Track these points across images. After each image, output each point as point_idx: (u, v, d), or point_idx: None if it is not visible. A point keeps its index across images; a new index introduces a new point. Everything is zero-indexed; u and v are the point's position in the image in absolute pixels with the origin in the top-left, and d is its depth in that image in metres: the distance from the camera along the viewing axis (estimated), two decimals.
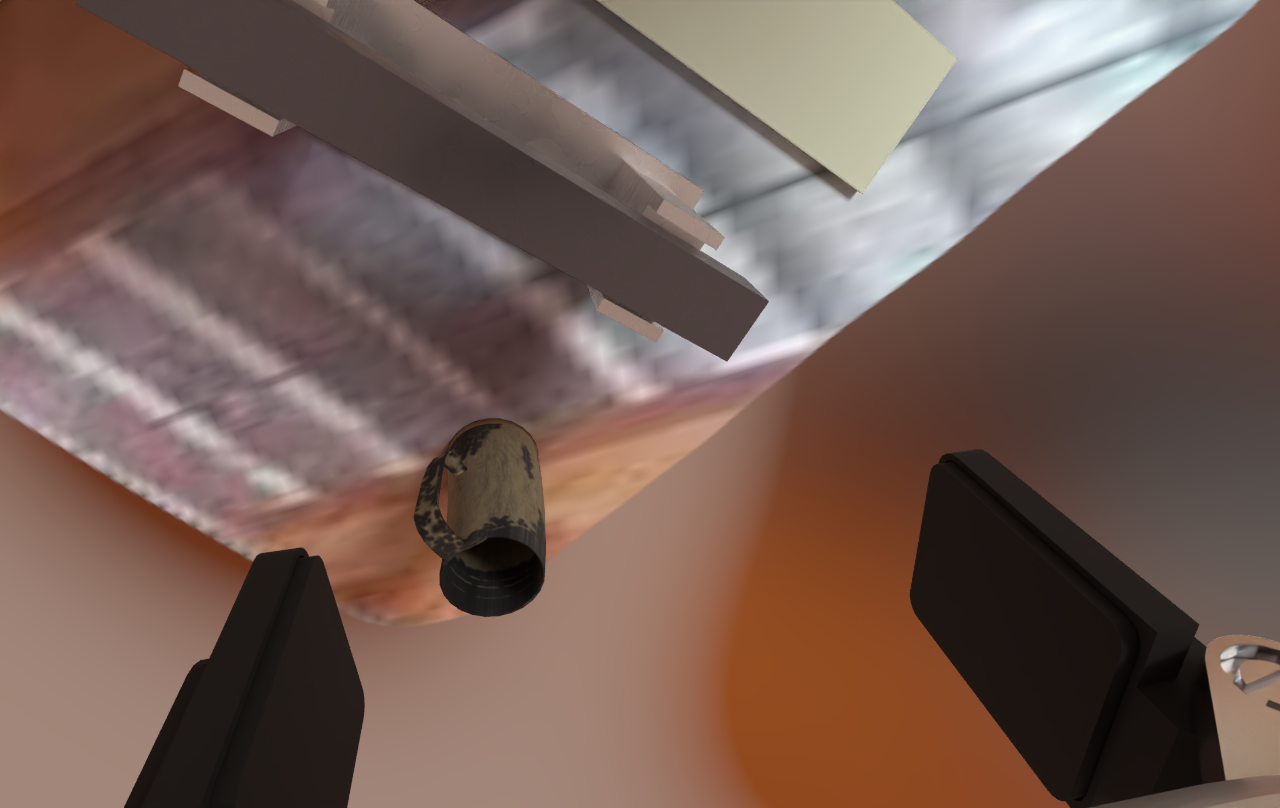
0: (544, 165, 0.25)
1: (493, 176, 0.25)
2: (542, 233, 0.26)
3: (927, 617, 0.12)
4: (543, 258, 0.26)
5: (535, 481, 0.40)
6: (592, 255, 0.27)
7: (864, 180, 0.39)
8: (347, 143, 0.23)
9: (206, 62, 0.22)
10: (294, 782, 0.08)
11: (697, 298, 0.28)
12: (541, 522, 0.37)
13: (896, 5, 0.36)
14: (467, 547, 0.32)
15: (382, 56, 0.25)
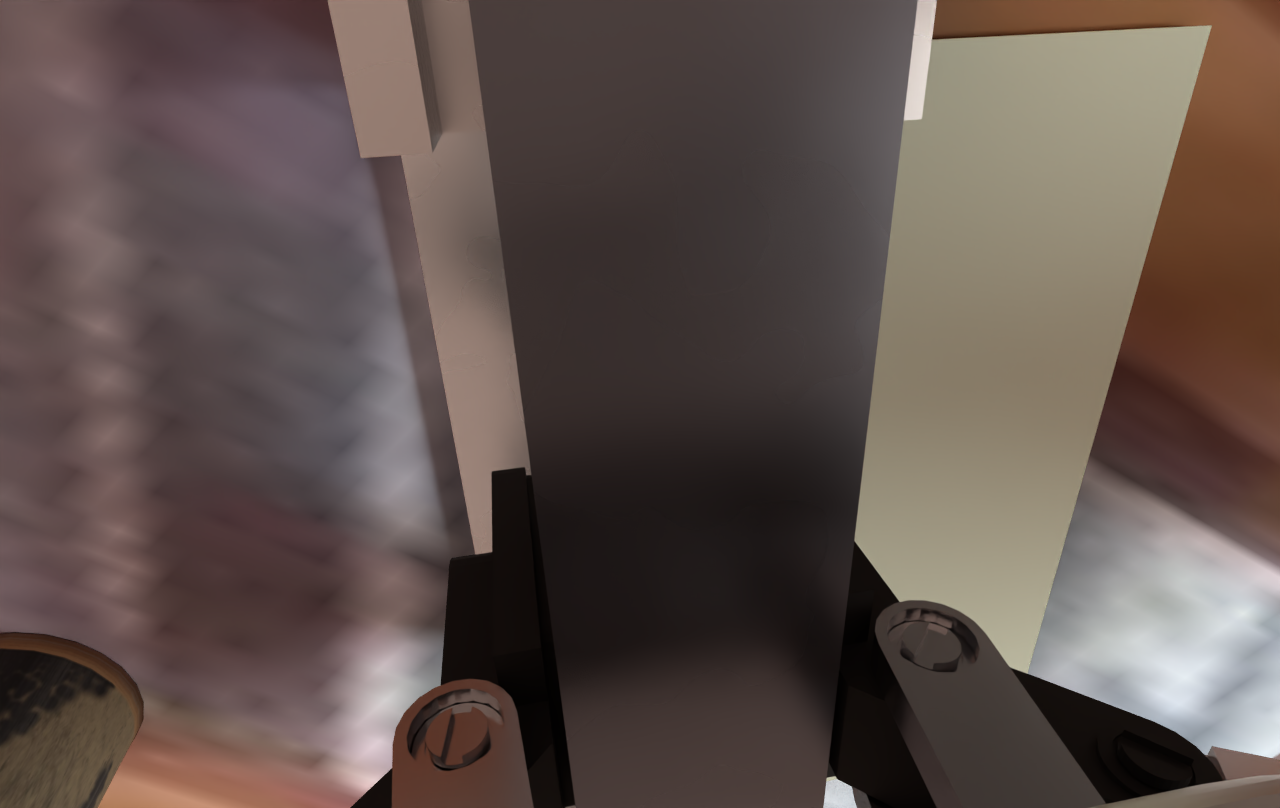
0: None
1: (727, 780, 0.08)
2: None
3: None
4: None
5: None
6: None
7: None
8: (563, 463, 0.06)
9: None
10: None
11: None
12: None
13: (1029, 662, 0.27)
14: None
15: None
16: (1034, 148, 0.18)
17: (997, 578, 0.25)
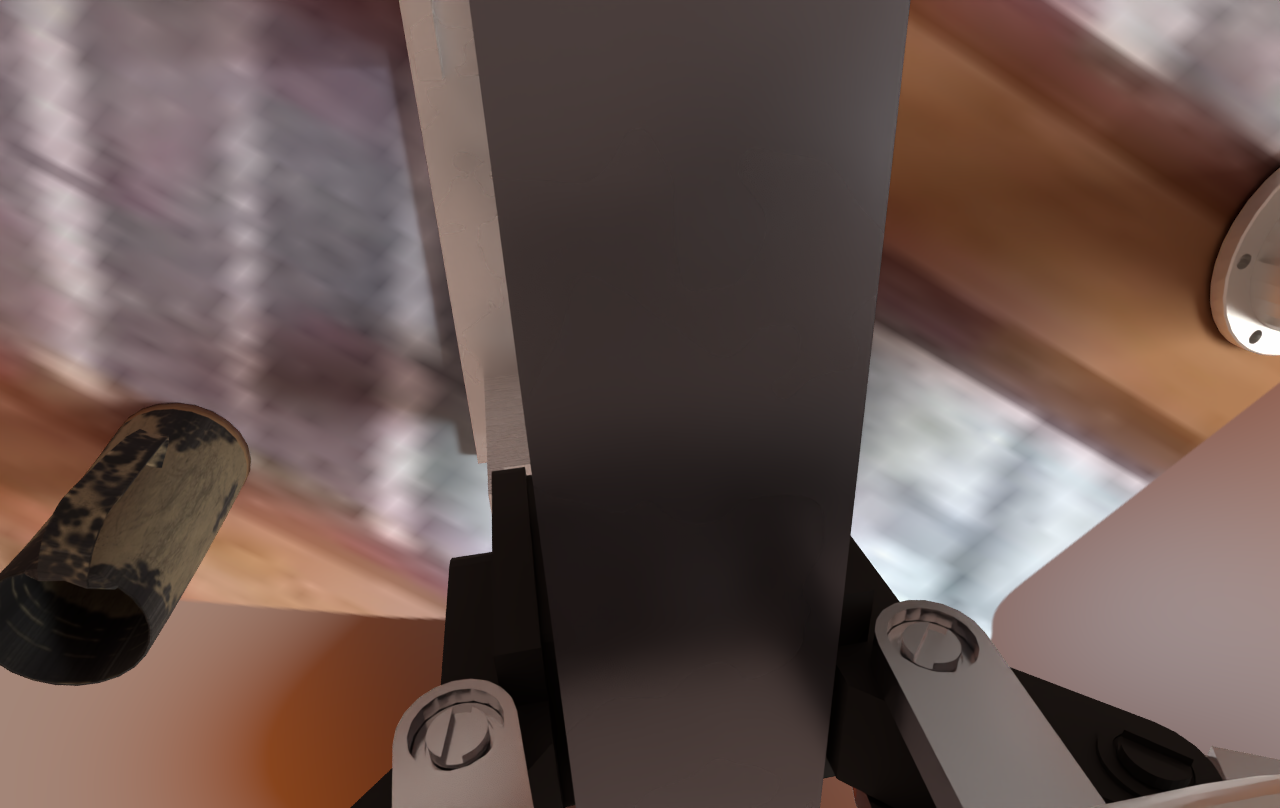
0: None
1: (724, 773, 0.08)
2: None
3: None
4: None
5: (213, 536, 0.30)
6: None
7: None
8: (563, 457, 0.06)
9: None
10: None
11: None
12: (180, 596, 0.27)
13: None
14: (83, 585, 0.22)
15: None
16: None
17: None
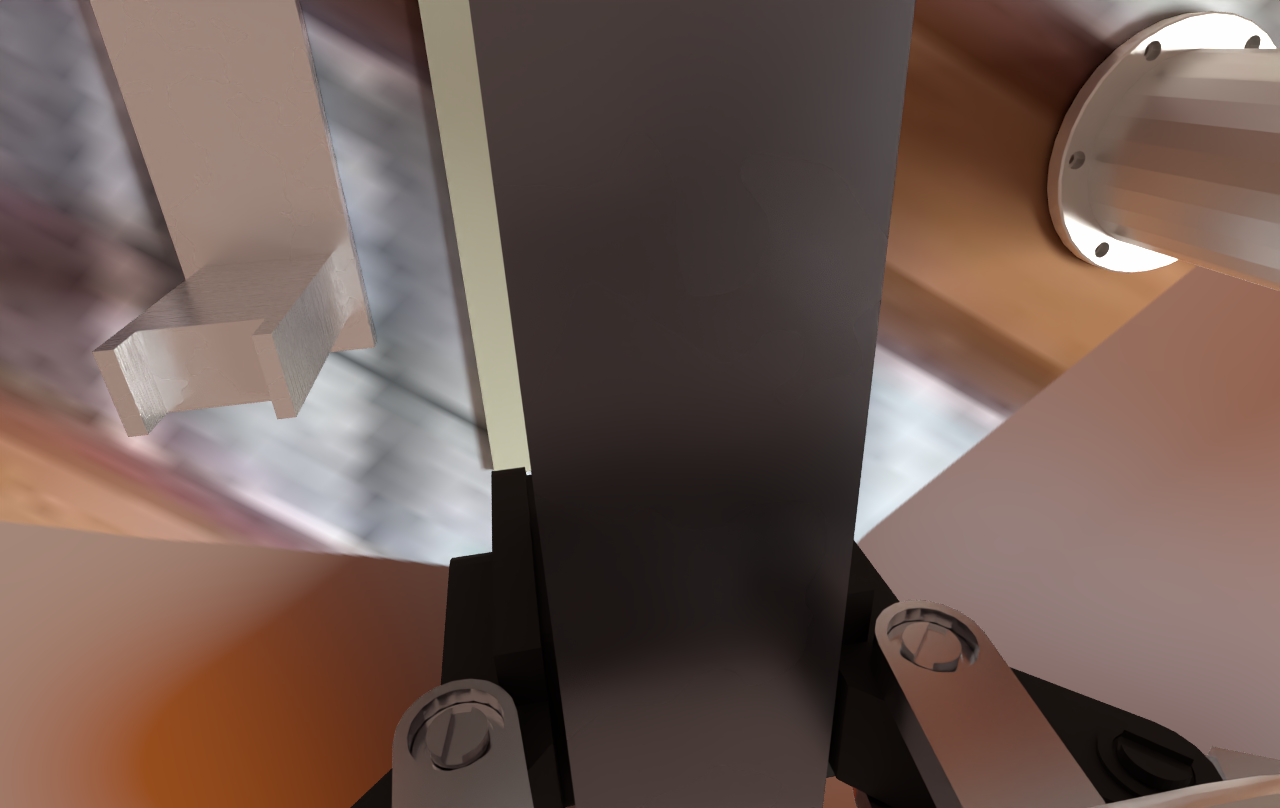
0: None
1: (726, 780, 0.08)
2: None
3: None
4: None
5: None
6: None
7: (505, 468, 0.38)
8: (563, 463, 0.06)
9: None
10: None
11: None
12: None
13: None
14: None
15: None
16: None
17: None
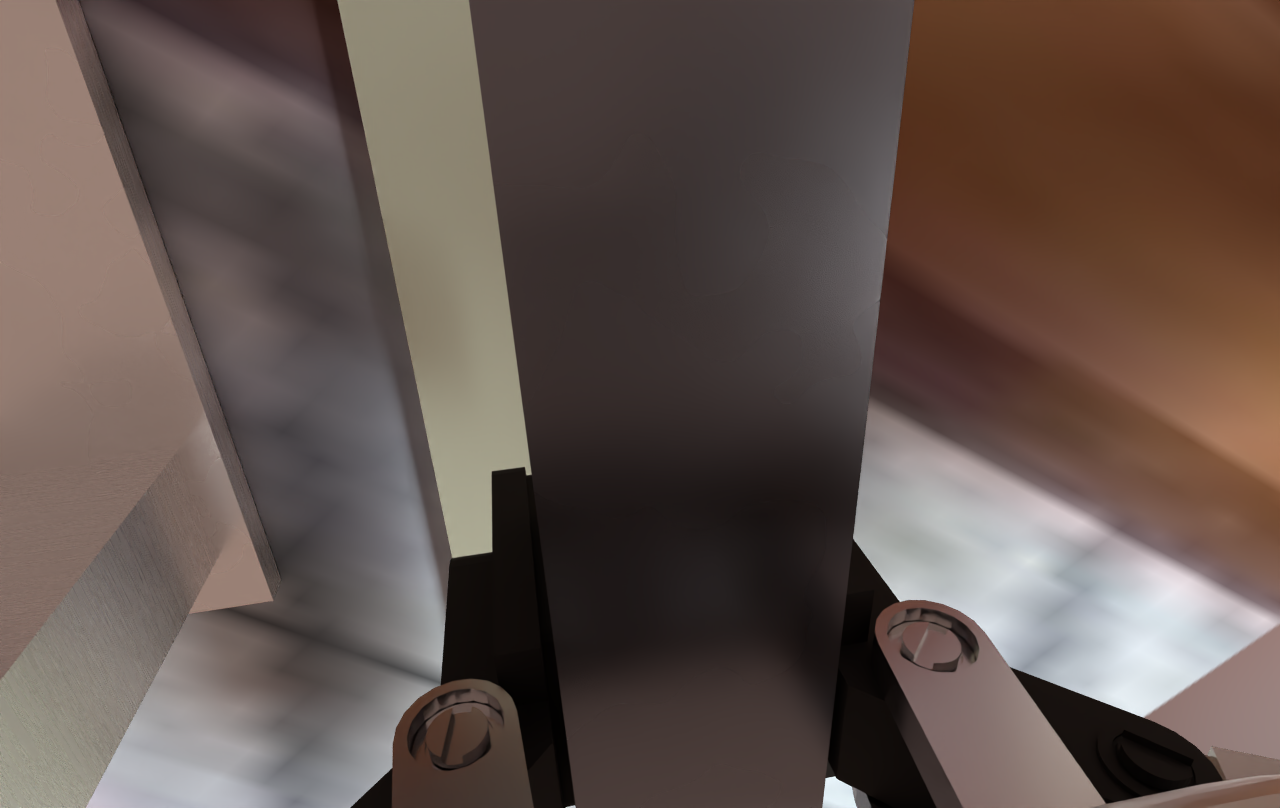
0: None
1: (727, 779, 0.08)
2: None
3: None
4: None
5: None
6: None
7: None
8: (562, 463, 0.06)
9: None
10: None
11: None
12: None
13: None
14: None
15: None
16: None
17: None
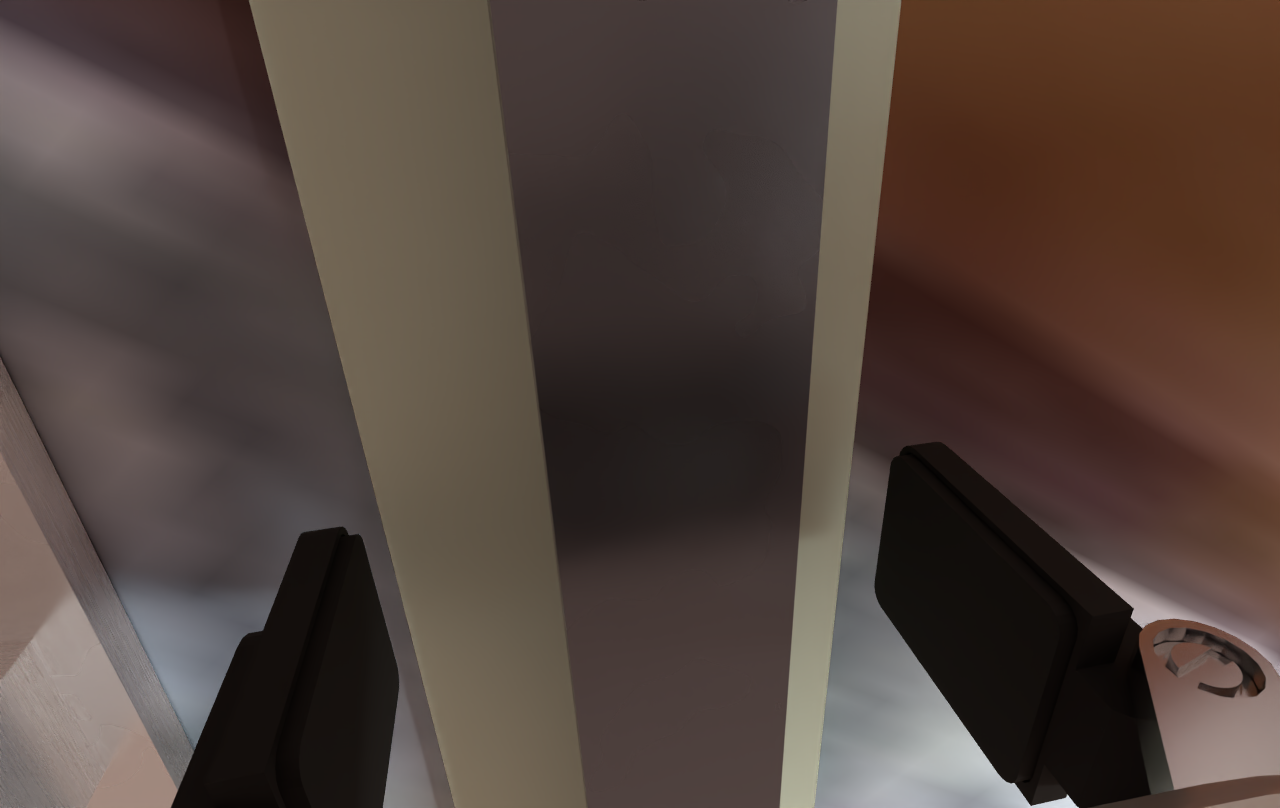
0: (783, 720, 0.11)
1: (702, 673, 0.10)
2: (646, 800, 0.11)
3: (890, 606, 0.12)
4: None
5: None
6: None
7: None
8: (562, 384, 0.07)
9: None
10: (344, 746, 0.08)
11: None
12: None
13: (813, 787, 0.17)
14: None
15: None
16: None
17: None
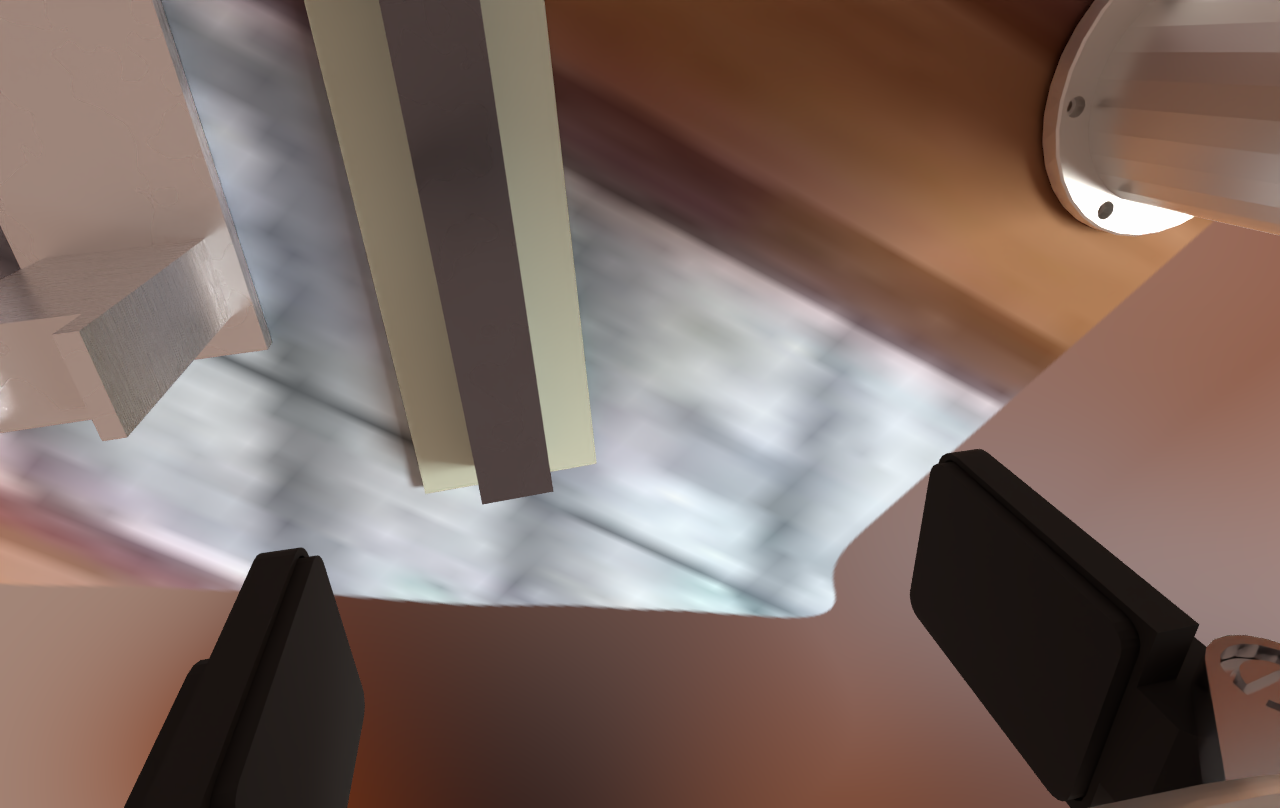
0: (517, 254, 0.26)
1: (476, 222, 0.25)
2: (463, 291, 0.26)
3: (927, 617, 0.12)
4: (444, 307, 0.26)
5: None
6: (479, 342, 0.27)
7: (437, 484, 0.33)
8: (404, 84, 0.23)
9: None
10: (294, 782, 0.08)
11: (512, 442, 0.29)
12: None
13: (585, 377, 0.32)
14: None
15: None
16: None
17: None
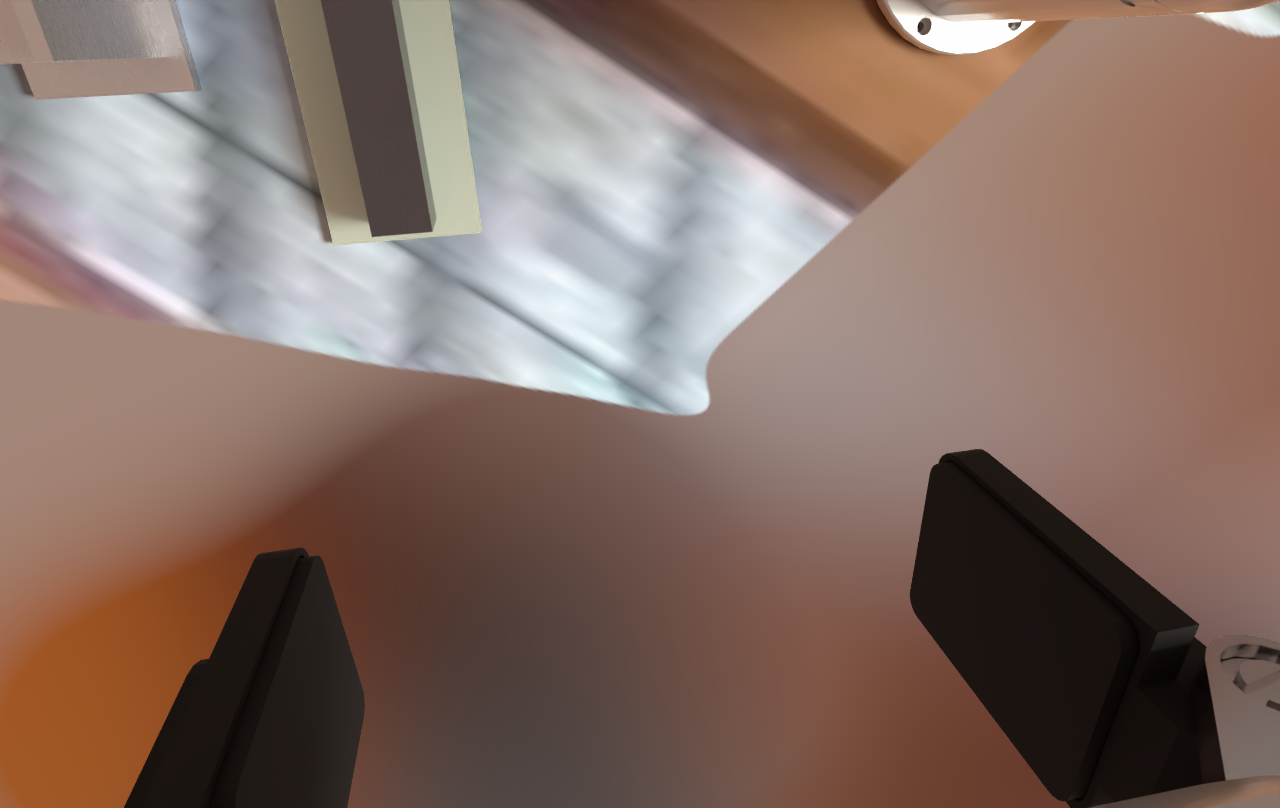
0: (391, 1, 0.32)
1: None
2: (347, 30, 0.32)
3: (927, 617, 0.12)
4: (331, 43, 0.32)
5: None
6: (362, 79, 0.33)
7: (343, 237, 0.39)
8: None
9: None
10: (294, 782, 0.08)
11: (395, 179, 0.35)
12: None
13: (468, 147, 0.38)
14: None
15: None
16: None
17: (408, 54, 0.36)
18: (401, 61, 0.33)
